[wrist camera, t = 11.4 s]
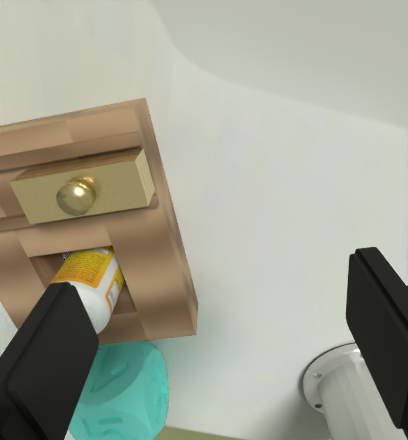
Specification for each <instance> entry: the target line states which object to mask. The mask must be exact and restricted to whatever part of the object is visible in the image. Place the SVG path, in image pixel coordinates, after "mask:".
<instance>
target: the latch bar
mask: <svg viewBox="0 0 408 440" xmlns="http://www.w3.org/2000/svg"><path fill="white" fill-rule="evenodd" d="M9 183H10V185H11V187H12V189H13V191H14V193H15V195H16V197H17V199H18V201H19V203H20V205H21V207H22V209H23V211H24V213H25V215H26V217H27V219H28V221H29V223H30V224H36V223H43V222H49V221H55V220H62V219H68V218H75V217H81V216H88V215H94V214H100V213H107V212H113V211H120V210H126V209H133V208H139V207H145V206H149V203H150V201H151V199H152V196H153V194H154V191H155V188H154V185H153V181H152V177H151V174H150V170H149V167H148V163H147V159H146V156H145V152H144V149H143V148H140V149H134V150H129V151H123V152H117V153H112V154H106V155H100V156H95V157H89V158H84V159H78V160H72V161H67V162H61V163H55V164H50V165H44V166H38V167H33V168H29V169H27V170H26V171H25V172H23V173H22V174H20V175H19V176H17V177H16V178H14V179H13V180H11V181H10V182H9Z"/></svg>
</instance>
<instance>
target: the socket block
mask: <svg viewBox="0 0 408 440" xmlns="http://www.w3.org/2000/svg"><path fill="white" fill-rule="evenodd" d="M140 148H143V149H144V152H145V156H146V159H147V163H148V167H149V170H150V174H151V177H152V181H153V185H154V188H155V191H154V194H153V196H152V199H151V201H150V203H149V206H145V207H139V208H133V209H126V210H120V211H113V212H107V213H100V214H94V215H88V216H81V217H75V218H68V219H62V220H55V221H49V222H43V223H36V224H30V223H29V221H28V219H27V217H26V215H25V213H24V211H23V209H22V207H21V205H20V203H19V201H18V199H17V197H16V195H15V193H14V191H13V189H12V187H11V185H10V183H9V182H10V181H11V180H13V179H14V178H16V177H17V176H19V175H20V174H22V173H23V172H25V171H26V170H27V169H29V168H33V167H38V166H44V165H50V164H55V163H61V162H67V161H72V160H78V159H84V158H89V157H95V156H100V155H106V154H112V153H117V152H123V151H129V150H134V149H140ZM110 245H112V247H113V249H114V252H115V254H116V257H117V260H118V262H119V265H120V268H121V270H122V273H123V276H124V278H125V281H126V283H127V285H123V287H122V289H121V292H120V294H119V297H118V299H117V302H116V305H115V307H114V310H113V312H112V315H111V317H110V319H109V322H108V324H107V325H106V327H105V328H104V329H103V330H102V331H101V332H100V333H98V334H97V336H98V338H99V345H106V344H115V343H125V342H134V341H143V340H153V339H162V338H172V337H181V336H190V335H196V327H197V312H198V301H197V298H196V294H195V290H194V286H193V282H192V278H191V274H190V270H189V266H188V262H187V259H186V255H185V251H184V247H183V243H182V239H181V235H180V231H179V227H178V223H177V220H176V216H175V212H174V208H173V204H172V200H171V196H170V192H169V188H168V184H167V181H166V177H165V173H164V169H163V165H162V161H161V157H160V153H159V149H158V145H157V142H156V138H155V134H154V130H153V126H152V122H151V118H150V114H149V110H148V106H147V103H146V99H145V98H141V99H136V100H131V101H126V102H121V103H116V104H111V105H106V106H100V107H95V108H90V109H85V110H80V111H75V112H70V113H65V114H59V115H54V116H49V117H44V118H39V119H34V120H29V121H24V122H19V123H13V124H8V125H3V126H0V302H1V303H2V305H3V307H4V308H5V310H6V311H7V313H8V315H9V316H10V318H11V319H12V321H13V322H14V324H15V326H16V327H17V329H18V330H19V329H20V327H21V326H22V324H23V323H24V321H25V320H26V318H27V317H28V315H29V314H30V312H31V311H32V309H33V308H34V306H35V305H36V303H37V302H38V300H39V299H40V297H41V295H42V293H43V292H44V290H45V289H46V288H47V286H48V285H49V283H50V282H51V280H52V279H53V278H54V276H55V275H56V273H57V272H58V271H59V269H60V268H61V266H62V265H63V263H64V262H65V261H64V259H63V257H62V255H61V252H68V251H75V250H82V249H89V248H96V247H103V246H110Z"/></svg>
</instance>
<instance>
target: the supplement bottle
mask: <svg viewBox="0 0 408 440" xmlns="http://www.w3.org/2000/svg"><path fill="white" fill-rule="evenodd" d="M66 281H67V282H69V283H70V284H71V285H74V286H75V287H76V289H77V291H78V293H79V295H80V298H81V300H82V302H83V304H84V307H85V309H86V311H87V313H88V316H89V318H90V320H91V322H92V325H93V327H94V329H95V331H96V333H97V334H98V333H100V332H101V331H102V330H103V329H104V328H105V327H106V325H107V324H108V322H109V319H110V317H111V315H112V312H113V310H114V307H115V305H116V302H117V299H118V297H119V294H120V292H121V289H122V287H123V284H124V282H125V278H124V276H123V273H122V270H121V268H120V265H119V262H118V260H117V257H116V254H115V252H114V249H113V247H112V245H110V246H103V247H96V248H89V249H82V250H75V251H72V252H71V254H70V255H69V256H68V258H67V259H66V260H65V262H64V263H63V265H62V266H61V268H60V269H59V271H58V272H57V273H56V275H55V276H54V278H53V279H52V280H51V282H50V283H49V285H50V284H51V283H57V282H66ZM49 285H48V286H49ZM48 286H47V287H48ZM45 290H46V289H45ZM45 290H44V291H45ZM43 293H44V292H43ZM43 293H42V294H43ZM41 296H42V295H41Z"/></svg>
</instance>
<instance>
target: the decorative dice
mask: <svg viewBox="0 0 408 440" xmlns="http://www.w3.org/2000/svg"><path fill="white" fill-rule="evenodd" d="M168 401H169V386H168V375H167V369H166V365H165V361H164V358H163V356H162V354H161V352H160V351H159V350H158V349H157V348H155V347H154V346H153V345H152V344H150V343H149V342H147V341H145V340H143V341H134V342H125V343H115V344H106V345H99V347H98V351H97V353H96V356H95V359H94V361H93V364H92V366H91V369H90V372H89V374H88V377H87V380H86V382H85V385H84V388H83V390H82V393H81V396H80V398H79V401H78V404H77V406H76V409H75V412H74V414H73V417H72V420H71V422H70V425H69V427H68V429H69V431H70V433H71V434H72V436H73V437H74V438H75V439H76V440H153V439H154V438H155V437H156V436H157V435H158V433H159V432H160V431H161V430H162V428H163V426H164V424H165V421H166V417H167V411H168Z"/></svg>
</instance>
